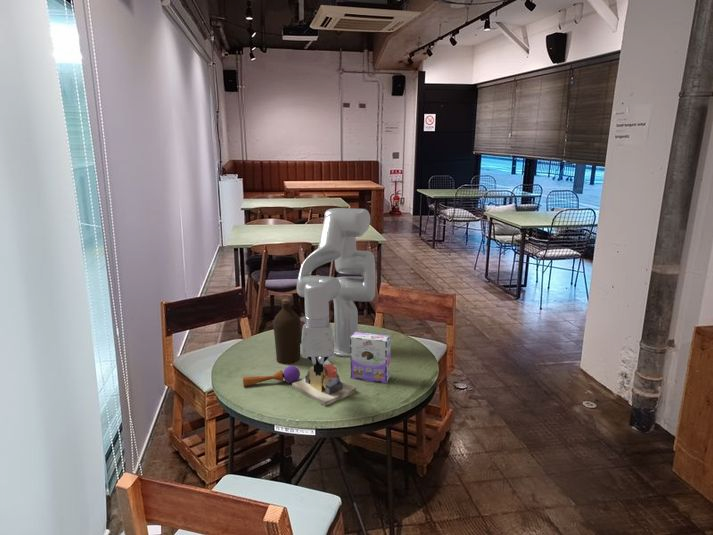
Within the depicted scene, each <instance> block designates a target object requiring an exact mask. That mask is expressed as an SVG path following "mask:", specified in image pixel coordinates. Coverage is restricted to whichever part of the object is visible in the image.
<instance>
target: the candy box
mask: <svg viewBox="0 0 713 535" xmlns="http://www.w3.org/2000/svg"><path fill="white" fill-rule="evenodd" d="M349 357H350V379H352V378H353V379H354V380H360V381H366V382H368V381H369V382H374V383H381V384H387V383H388V381H389V380H390V378H391V335H385V334H378V333H377V334H376V333H369V332H361V331H358V332H354V334H353V335H352V336H351V337H350V356H349Z"/></svg>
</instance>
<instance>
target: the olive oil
mask: <svg viewBox="0 0 713 535" xmlns="http://www.w3.org/2000/svg"><path fill="white" fill-rule="evenodd" d="M299 317H300V316H299V315H298V314H297V312H295V311H294V310H293V309H292V308H291V299H290V298H288V297H287V298H282V299H281V310H279V311H278V313H277V314H276V315H275V316H274V319H273V323H272V327H273V334H274V335H273V336H274V344H275V357H276V362H278V363H279V364H281V363H282V365H292V363H293V364H296V363H298V362H299V361H300V360H301V343H300V331H301V322H300V318H299ZM295 362H296V363H295Z"/></svg>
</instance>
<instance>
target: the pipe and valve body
mask: <svg viewBox="0 0 713 535" xmlns="http://www.w3.org/2000/svg"><path fill="white" fill-rule="evenodd" d="M333 366H334V367H335V369H336V371H337V372H338V370H337V369H338V368H337V366H336V365H334V364H333ZM304 378H305V382H306V383H308V384H310V385H311V387H313V388H315V389H317V390H319V391H321V392H323V391H325V392H326V394H328V395H331V394H333V393H335V392H338V391H340V390H342V389H343V383H342V382H340V380H341V379H340V376H339V374H338V373H337V377H335V378H328V377H327V375H326V373H325V372H324V368H323V372H321V376H319V375H317V376H316V372H314V364H312V366H310V367H309V370H307V374H306V375H305V376H304Z"/></svg>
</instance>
